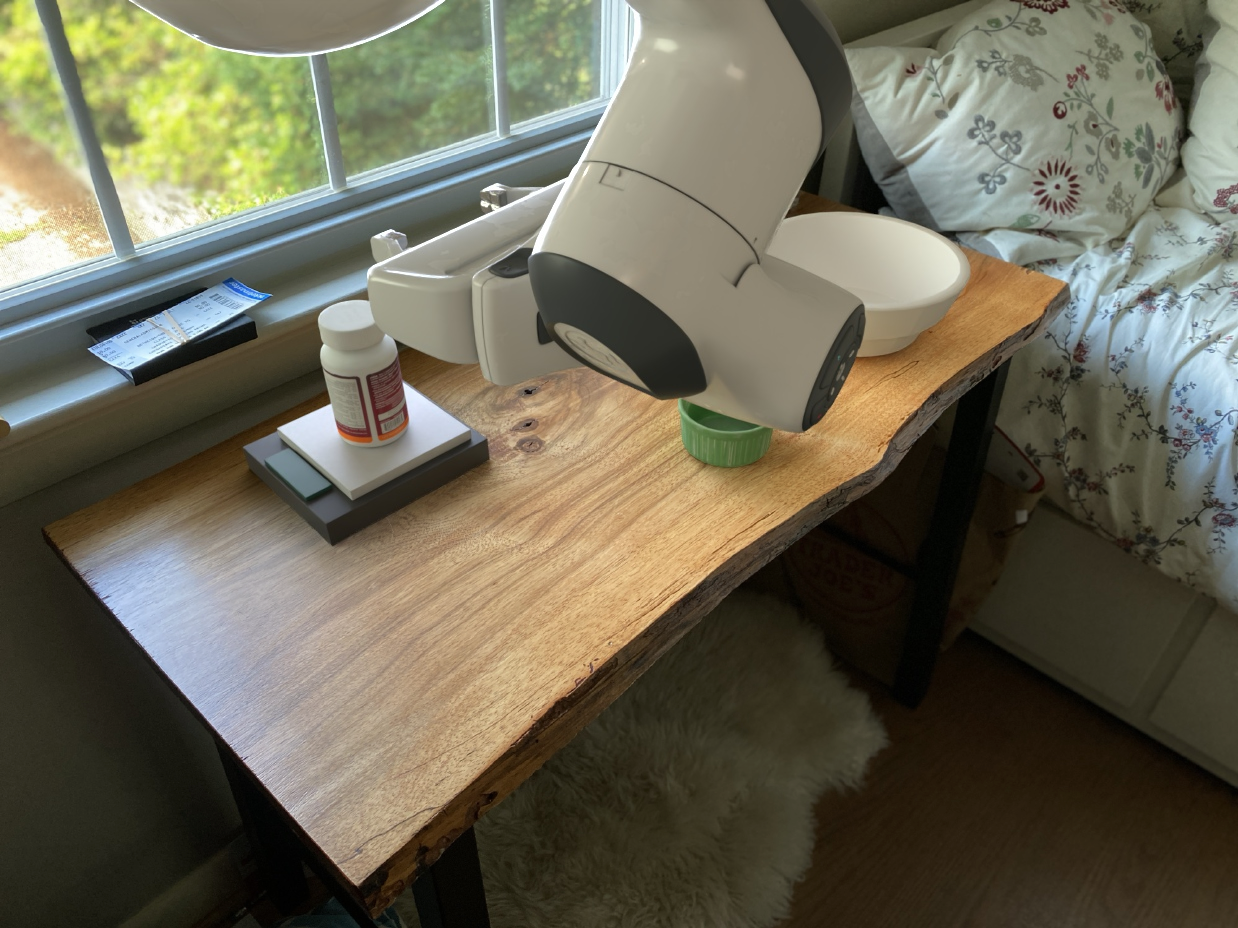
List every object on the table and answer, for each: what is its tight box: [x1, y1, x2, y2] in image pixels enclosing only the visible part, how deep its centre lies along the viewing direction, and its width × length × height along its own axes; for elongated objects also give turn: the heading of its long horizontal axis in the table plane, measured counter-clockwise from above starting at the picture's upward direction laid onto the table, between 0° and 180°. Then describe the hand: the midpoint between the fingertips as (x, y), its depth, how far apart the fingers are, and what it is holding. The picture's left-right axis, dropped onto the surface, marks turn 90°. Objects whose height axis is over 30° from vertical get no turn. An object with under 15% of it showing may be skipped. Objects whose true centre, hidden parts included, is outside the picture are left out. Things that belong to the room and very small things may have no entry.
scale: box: [242, 379, 491, 547], centre depth 82 cm, size 16×14×3 cm
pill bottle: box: [317, 299, 409, 448], centre depth 78 cm, size 6×6×11 cm
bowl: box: [766, 211, 971, 358], centre depth 99 cm, size 22×22×8 cm
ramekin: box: [677, 398, 774, 468], centre depth 84 cm, size 9×9×4 cm
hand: (436, 220), depth 61 cm, fingers open, 8 cm apart
